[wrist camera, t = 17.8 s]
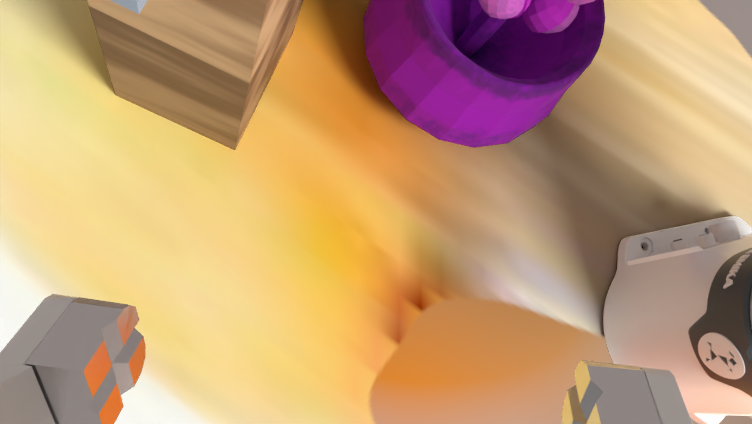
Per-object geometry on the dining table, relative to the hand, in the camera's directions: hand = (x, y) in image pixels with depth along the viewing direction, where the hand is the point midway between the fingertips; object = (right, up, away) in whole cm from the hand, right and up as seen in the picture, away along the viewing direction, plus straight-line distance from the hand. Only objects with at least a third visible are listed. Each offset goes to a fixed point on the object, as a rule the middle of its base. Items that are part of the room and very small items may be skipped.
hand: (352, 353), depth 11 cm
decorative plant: (+7, +16, +45) cm, 49 cm away
